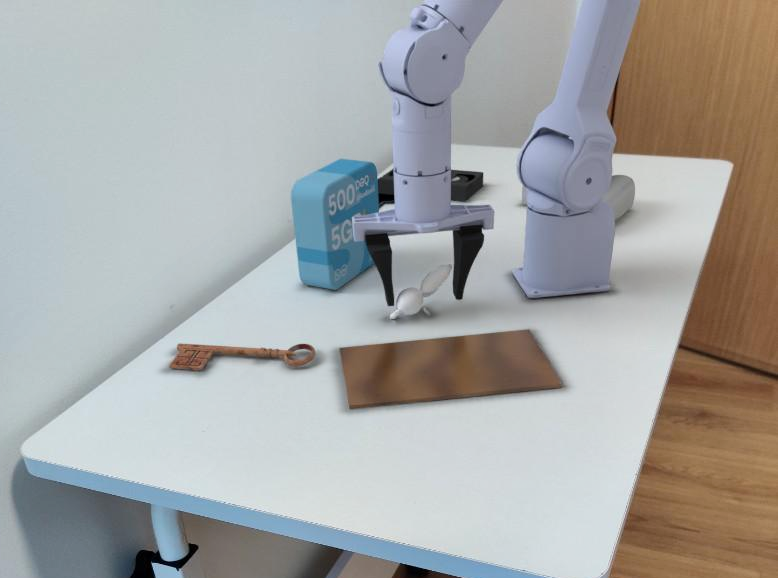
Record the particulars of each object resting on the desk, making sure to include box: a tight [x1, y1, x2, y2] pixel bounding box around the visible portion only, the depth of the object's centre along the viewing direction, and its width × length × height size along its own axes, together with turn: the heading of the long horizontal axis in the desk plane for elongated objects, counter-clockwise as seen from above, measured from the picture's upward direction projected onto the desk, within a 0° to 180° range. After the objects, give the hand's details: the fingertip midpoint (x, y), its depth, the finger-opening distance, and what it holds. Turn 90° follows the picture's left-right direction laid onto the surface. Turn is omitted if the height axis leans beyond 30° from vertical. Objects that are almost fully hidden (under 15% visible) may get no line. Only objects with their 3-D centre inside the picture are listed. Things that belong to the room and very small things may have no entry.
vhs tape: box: [377, 168, 484, 203], centre depth 126 cm, size 14×8×2 cm, turn 65°
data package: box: [290, 158, 380, 291], centre depth 99 cm, size 12×4×12 cm, turn 150°
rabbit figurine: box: [389, 263, 453, 320], centre depth 91 cm, size 6×4×8 cm
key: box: [168, 342, 316, 371], centre depth 86 cm, size 6×1×15 cm
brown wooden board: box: [338, 328, 563, 410], centre depth 82 cm, size 20×12×1 cm, turn 96°
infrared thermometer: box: [521, 174, 636, 221], centre depth 114 cm, size 5×12×15 cm
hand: (423, 299), depth 92 cm, fingers open, 7 cm apart
